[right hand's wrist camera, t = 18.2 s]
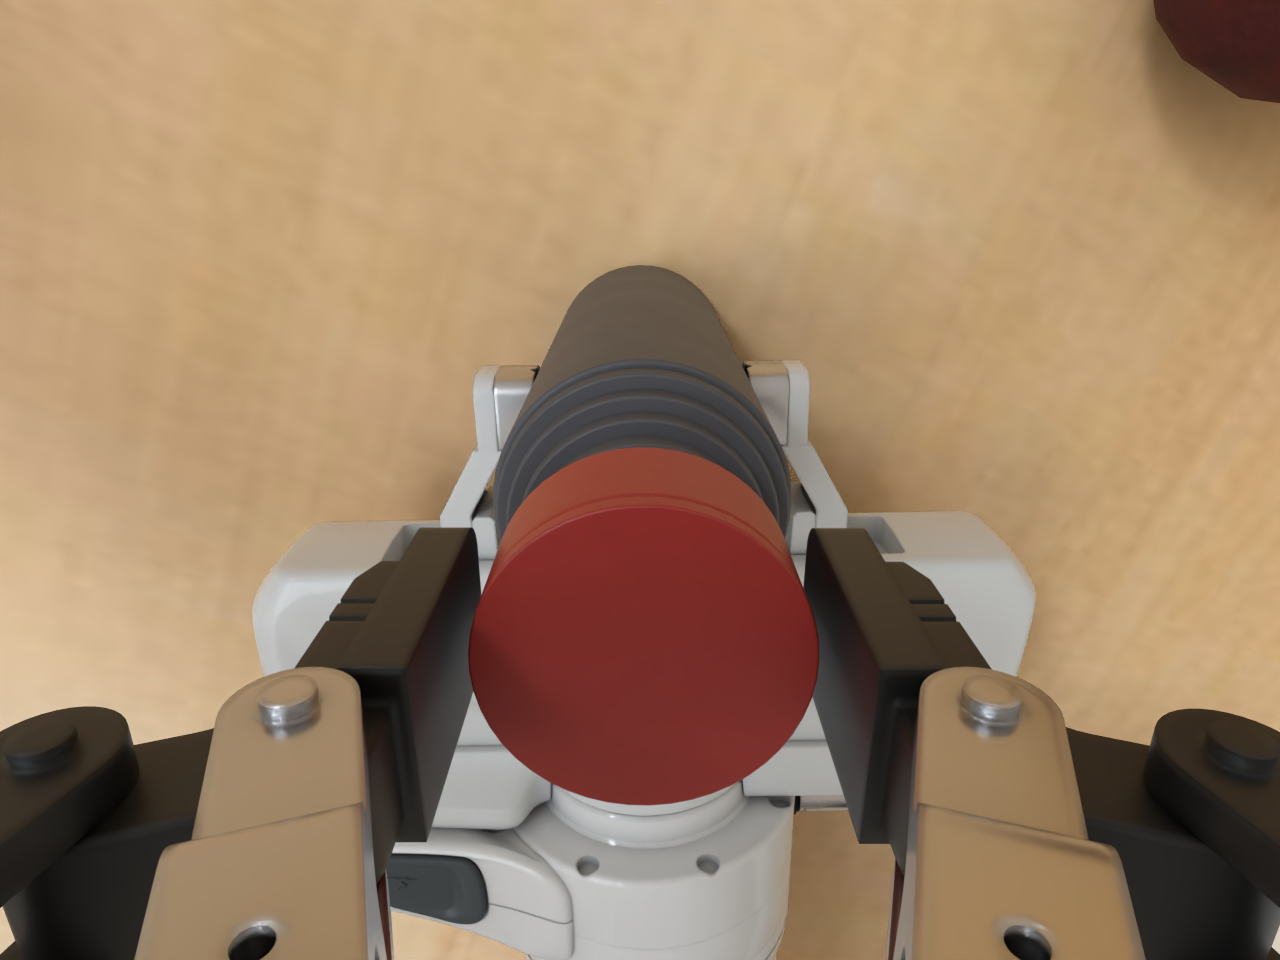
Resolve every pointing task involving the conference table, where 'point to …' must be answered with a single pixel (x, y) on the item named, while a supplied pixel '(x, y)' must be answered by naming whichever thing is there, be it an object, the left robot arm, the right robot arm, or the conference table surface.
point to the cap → (643, 630)
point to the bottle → (641, 392)
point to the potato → (1228, 42)
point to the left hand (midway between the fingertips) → (639, 367)
